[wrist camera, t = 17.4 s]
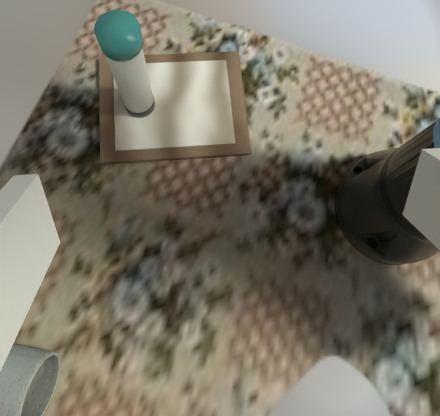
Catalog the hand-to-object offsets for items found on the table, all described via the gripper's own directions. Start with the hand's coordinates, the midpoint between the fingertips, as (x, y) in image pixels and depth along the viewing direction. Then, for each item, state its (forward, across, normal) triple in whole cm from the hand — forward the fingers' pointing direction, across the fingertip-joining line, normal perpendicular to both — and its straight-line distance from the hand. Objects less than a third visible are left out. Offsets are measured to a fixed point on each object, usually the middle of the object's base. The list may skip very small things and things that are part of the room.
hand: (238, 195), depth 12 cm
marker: (+39, -8, -6) cm, 40 cm away
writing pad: (+39, -3, -7) cm, 40 cm away
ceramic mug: (+15, -22, -32) cm, 41 cm away
